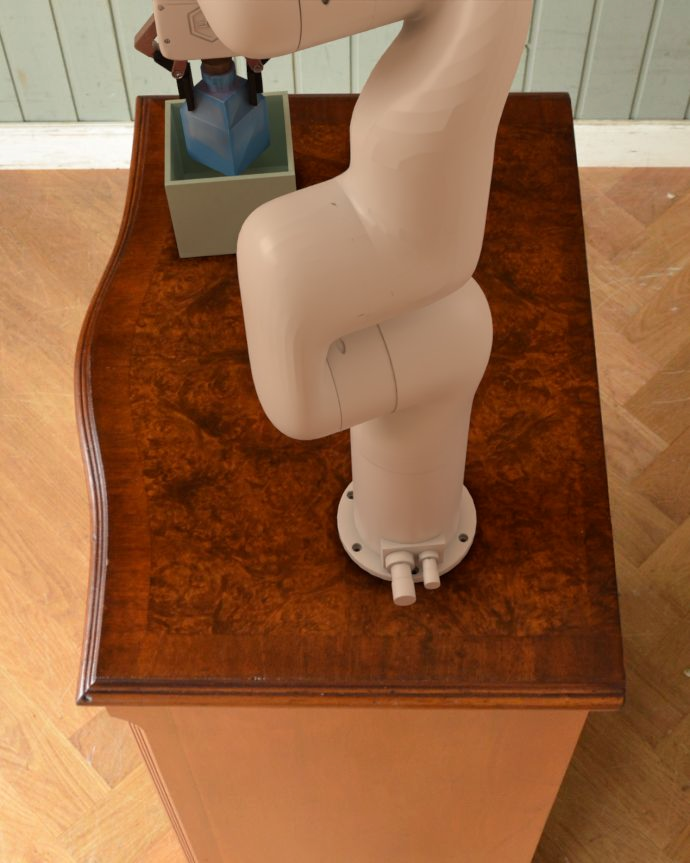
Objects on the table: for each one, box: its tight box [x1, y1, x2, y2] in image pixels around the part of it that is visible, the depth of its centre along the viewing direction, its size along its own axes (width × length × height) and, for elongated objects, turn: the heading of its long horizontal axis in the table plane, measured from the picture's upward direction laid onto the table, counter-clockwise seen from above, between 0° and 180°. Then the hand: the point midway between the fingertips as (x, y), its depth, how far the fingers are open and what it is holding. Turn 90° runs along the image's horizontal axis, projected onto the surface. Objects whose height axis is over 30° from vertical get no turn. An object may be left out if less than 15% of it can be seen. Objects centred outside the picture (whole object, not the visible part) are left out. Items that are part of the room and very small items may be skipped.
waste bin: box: [164, 90, 297, 259], centre depth 124 cm, size 13×13×11 cm
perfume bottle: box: [180, 57, 271, 176], centre depth 117 cm, size 6×6×12 cm
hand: (222, 98), depth 116 cm, fingers closed on perfume bottle, 5 cm apart
